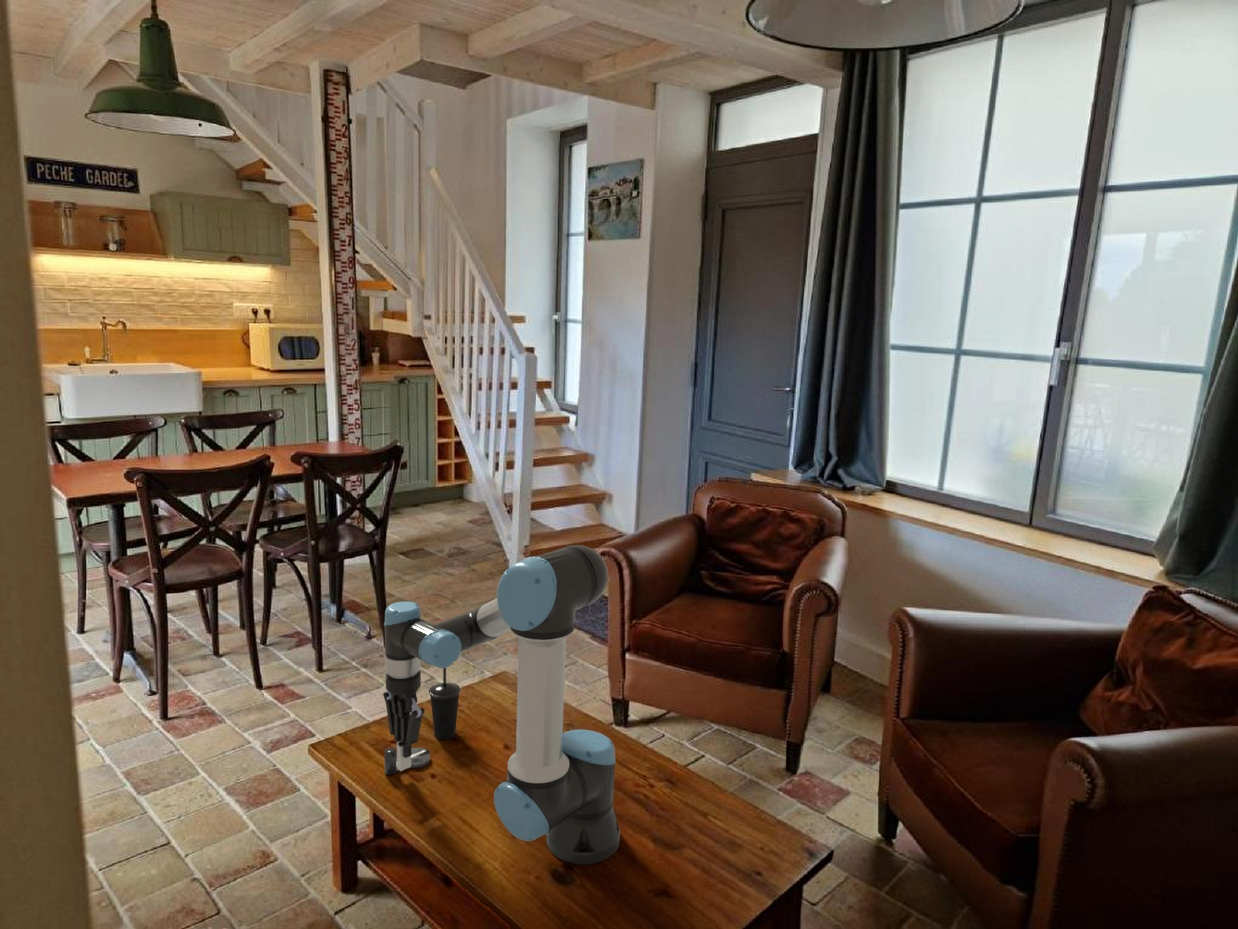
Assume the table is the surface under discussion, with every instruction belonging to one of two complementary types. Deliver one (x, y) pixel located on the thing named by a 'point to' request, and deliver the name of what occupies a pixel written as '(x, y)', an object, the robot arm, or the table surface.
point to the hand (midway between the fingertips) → (404, 767)
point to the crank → (418, 759)
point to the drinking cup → (444, 708)
